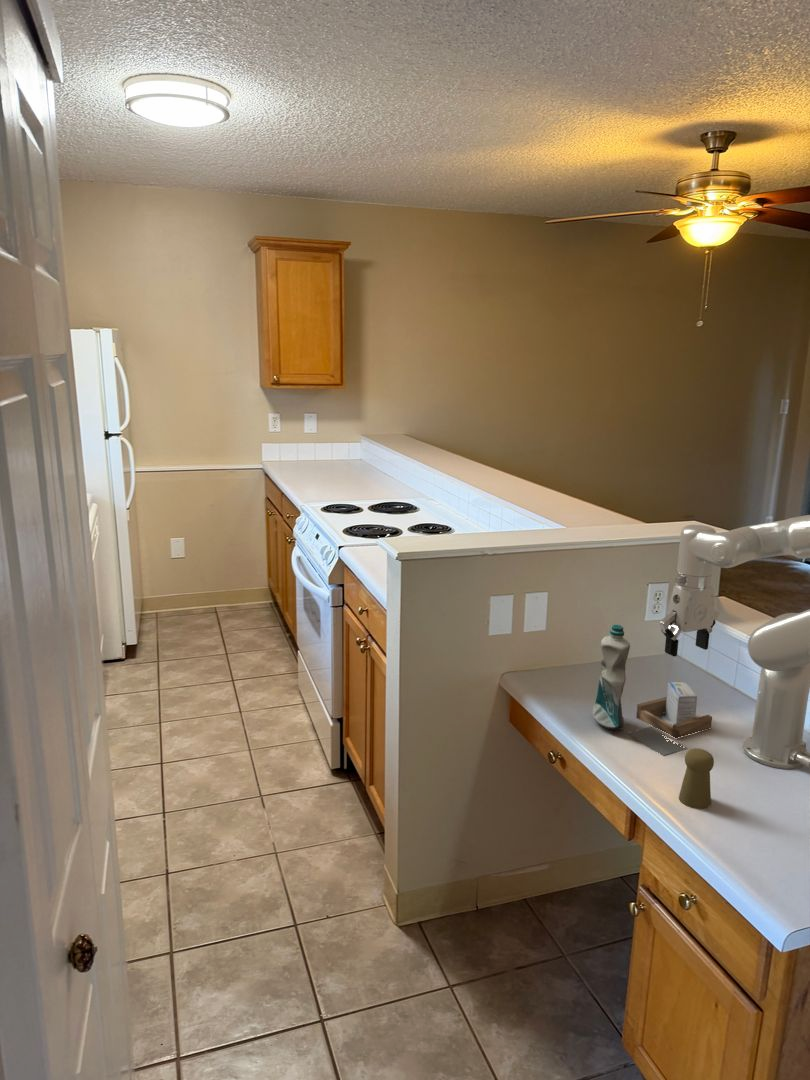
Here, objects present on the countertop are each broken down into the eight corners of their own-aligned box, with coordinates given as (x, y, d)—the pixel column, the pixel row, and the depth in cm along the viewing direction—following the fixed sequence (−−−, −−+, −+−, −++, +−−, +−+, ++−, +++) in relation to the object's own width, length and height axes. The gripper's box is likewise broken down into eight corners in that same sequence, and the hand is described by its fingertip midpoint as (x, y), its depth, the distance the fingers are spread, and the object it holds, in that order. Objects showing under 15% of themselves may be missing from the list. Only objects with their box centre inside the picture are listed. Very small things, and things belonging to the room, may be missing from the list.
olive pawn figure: (694, 815, 142) (699, 763, 139) (671, 798, 147) (676, 747, 144) (718, 808, 144) (724, 756, 141) (694, 792, 149) (700, 741, 147)
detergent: (584, 714, 182) (591, 615, 176) (613, 713, 183) (621, 615, 177) (603, 740, 169) (611, 636, 163) (634, 739, 170) (643, 635, 164)
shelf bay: (710, 730, 174) (712, 716, 173) (675, 740, 169) (677, 726, 169) (670, 708, 185) (671, 695, 184) (636, 717, 180) (637, 704, 179)
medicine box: (694, 730, 174) (698, 696, 172) (675, 730, 174) (678, 695, 172) (683, 715, 182) (686, 681, 180) (664, 714, 182) (667, 681, 180)
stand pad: (687, 750, 165) (687, 748, 165) (663, 757, 162) (663, 755, 162) (650, 728, 175) (650, 726, 175) (627, 735, 172) (627, 732, 172)
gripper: (678, 589, 163) (670, 663, 167) (734, 579, 170) (726, 650, 174) (652, 580, 169) (646, 651, 173) (708, 571, 177) (700, 639, 181)
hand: (686, 651), depth 174 cm, fingers open, 9 cm apart
